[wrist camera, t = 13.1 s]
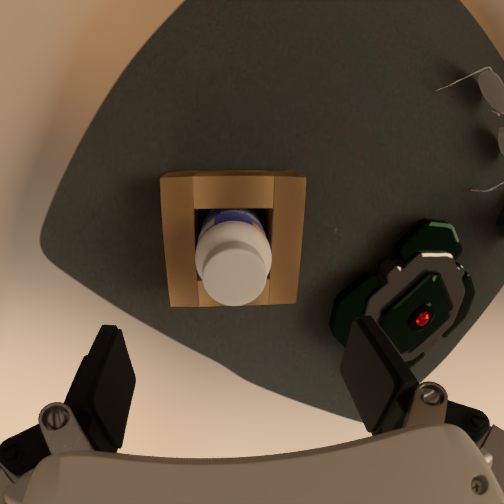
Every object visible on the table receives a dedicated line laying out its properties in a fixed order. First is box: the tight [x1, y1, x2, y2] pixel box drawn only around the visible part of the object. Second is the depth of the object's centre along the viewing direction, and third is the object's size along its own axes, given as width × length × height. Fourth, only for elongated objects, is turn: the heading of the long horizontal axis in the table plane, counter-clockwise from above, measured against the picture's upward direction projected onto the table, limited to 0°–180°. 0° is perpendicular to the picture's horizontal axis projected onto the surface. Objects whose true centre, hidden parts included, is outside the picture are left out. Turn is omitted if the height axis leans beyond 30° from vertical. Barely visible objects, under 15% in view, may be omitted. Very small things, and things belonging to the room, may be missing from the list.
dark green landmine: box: [329, 218, 475, 369], centre depth 30 cm, size 18×18×5 cm
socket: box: [160, 170, 306, 306], centre depth 25 cm, size 11×11×4 cm
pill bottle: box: [195, 208, 272, 306], centre depth 22 cm, size 5×5×10 cm
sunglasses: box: [436, 67, 504, 192], centre depth 23 cm, size 14×8×5 cm, turn 33°
